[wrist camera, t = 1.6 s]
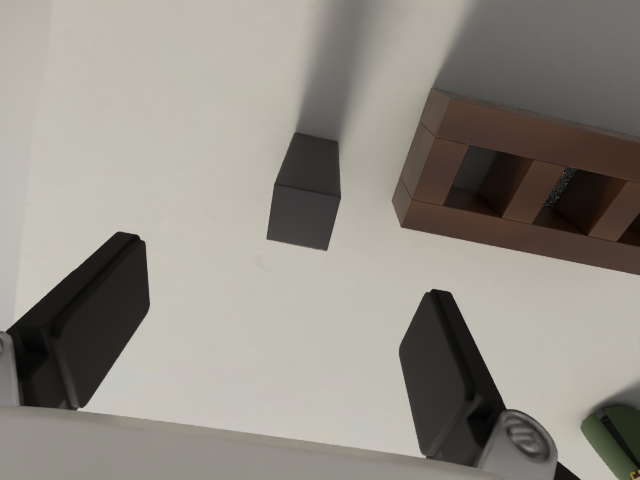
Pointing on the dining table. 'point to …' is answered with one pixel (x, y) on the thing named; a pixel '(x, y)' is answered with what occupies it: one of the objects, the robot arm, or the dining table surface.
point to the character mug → (616, 440)
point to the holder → (524, 183)
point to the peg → (306, 193)
